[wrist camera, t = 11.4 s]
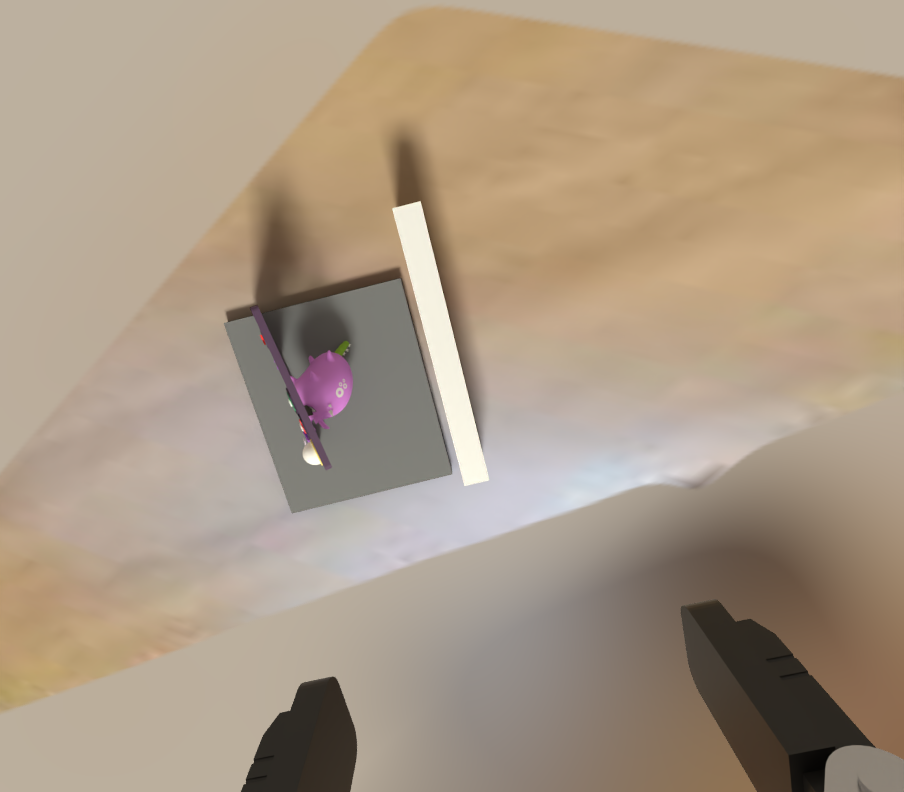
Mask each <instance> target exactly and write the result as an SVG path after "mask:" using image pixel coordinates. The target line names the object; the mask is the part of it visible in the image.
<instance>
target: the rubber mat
mask: <svg viewBox="0 0 904 792" xmlns="http://www.w3.org/2000/svg"><path fill="white" fill-rule="evenodd" d="M262 316H263V318H264V321H265V323H266V325H267V327H268V329H269V331H270V334H271V336H272V338H273V340H274V342H275V344H276V347H277V349H278V351H279V353H280V355H281V357H282V359H283V362H284V364H285V366H286V368H287V370H288V372H289V375H290V376H292V377H294V378H296V379H298V378H299V377H300V376H301V375H302V374H303V373H304V372H305V371H306V369H307V368H308V367H309V365H310V362H309V356H312V357H313V358H314V359H316V358H317V357H318V356H319V355H321V354H323V353H326V352H327V351H328V350H330V351H331V352H333V353H334V352H335V351H336V349H338V347H339V346H340V345H341V344H342V343H343V342H344V341H348V342H349V344H351V345H350V347H349V346H348V347H347V349H348V352H347V351H344V352H345V353H346V354H344V355H345V356H344V355H342V357H343V358H344V359H345V360H346V361H347V362H348V364H349V366H350V368H351V371H352V375H353V388H352V393H351V396H350V399H349V401H348V403H347V405H346V406H345V407H344V409H343V410H342V411H341V412H339V413H338V414H336V415H335V416H333V417H330V418H327V419H323V421H324V422H325V424H326V425H327V426H328V427H330V428H329V429H324V428H322V427H321V425H320V424H319V423H317V424H315V422H314V420H312V424H313V427H314V428H315V429H316V430H315V431H316V433H317V435H318V437H319V440H320V442H321V444H322V446H323V448H324V450H325V453H326V455H327V457H328V459H329V461H330V463H331V466H332V468H330V469H328V470H325V468H324V466H323V465H321V464H318V465H312V464H309V463H307V462H306V461H305V460H304V458H303V449H304V447H305V443H304V441H303V439H305V441H306V444H307V443H308V442H307V440H306V438H305V436H304V434H303V431H302V429H301V427H300V425H299V423H300V421H299V417H298V415H297V414H296V412H295V411H294V408H293V406H292V407H291V405H290V403H289V401H288V400H289V398H288V395H287V393H286V392H287V391H286V389H285V388H287V387H286V384H285V382H284V380H283V378H282V376H281V374H280V371H279V370H278V369H277V365H276V363H275V362H274V359H273V356H272V354H271V352H270V350H269V349H268V347H267V345H264V343H263V341H262V339H261V336H260V335H262V334H261V332H260V329H259V326H258V324H257V322H256V320H255V318H254V316H250V317H246V318H242V319H238V320H234V321H230V322H226V323H224V325H225V328H226V331H227V334H228V336H229V339H230V342H231V345H232V347H233V350H234V353H235V356H236V359H237V361H238V364H239V367H240V370H241V373H242V375H243V378H244V381H245V384H246V386H247V389H248V392H249V395H250V398H251V400H252V403H253V406H254V409H255V412H256V414H257V417H258V420H259V423H260V425H261V428H262V431H263V434H264V437H265V439H266V442H267V445H268V448H269V451H270V453H271V456H272V459H273V462H274V465H275V467H276V470H277V473H278V476H279V478H280V481H281V484H282V487H283V490H284V492H285V495H286V498H287V501H288V504H289V506H290V509H291V512H292V513H296V512H300V511H304V510H308V509H312V508H316V507H320V506H324V505H328V504H332V503H336V502H341V501H345V500H349V499H353V498H357V497H361V496H365V495H369V494H373V493H377V492H381V491H385V490H390V489H394V488H398V487H402V486H406V485H410V484H414V483H418V482H422V481H426V480H430V479H435V478H439V477H443V476H447V475H451V474H452V469H451V465H450V462H449V458H448V454H447V450H446V447H445V443H444V439H443V435H442V431H441V428H440V424H439V420H438V416H437V413H436V409H435V405H434V401H433V397H432V394H431V390H430V386H429V382H428V379H427V375H426V371H425V367H424V363H423V360H422V356H421V352H420V348H419V345H418V341H417V337H416V333H415V330H414V326H413V322H412V318H411V314H410V311H409V307H408V303H407V299H406V296H405V292H404V288H403V284H402V280H401V278H399V279H395V280H391V281H387V282H383V283H380V284H376V285H372V286H368V287H364V288H360V289H356V290H352V291H348V292H344V293H340V294H336V295H332V296H328V297H325V298H321V299H317V300H313V301H309V302H305V303H301V304H297V305H293V306H289V307H285V308H281V309H277V310H274V311H270V312H266V313H262ZM300 424H301V423H300ZM301 426H302V425H301Z"/></svg>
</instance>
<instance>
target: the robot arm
mask: <svg viewBox="0 0 904 792" xmlns="http://www.w3.org/2000/svg"><path fill="white" fill-rule="evenodd" d="M681 617H682V624H683V631H684V637H685V644H686V651H687V658H688V664H689V668H690V671H691V674H692V677H693V680H694V682H695V684H696V687H697V689H698V691H699V693H700V695H701V696H702V698H703V700H704V701H705V703H706V705H707V707H708V708H709V710H710V712H711V714H712V715H713V717H714V719H715V720H716V722H717V724H718V725H719V727H720V729H721V730H722V732H723V734H724V736H725V737H726V739H727V741H728V743H729V744H730V746H731V748H732V749H733V751H734V753H735V755H736V756H737V758H738V760H739V761H740V763H741V765H742V767H743V768H744V770H745V772H746V773H747V775H748V777H749V778H750V780H751V782H752V784H753V785H754V787H755V789H756V790H757V792H904V760H903V759H901V758H900V757H897V756H895V755H893V754H891V753H889V752H886V751H884V750H881V749H878V748H876V747H875V746H874V745H873V744H872V743H871V742H870V741H869V740H868V739H867V738H866V737H865V735H864V734H863V733H862V732H861V731H860V730H859V729H858V727H857V726H856V725H855V724H854V723H853V722H852V721H851V720H850V718H849V717H848V716H847V715H846V714H845V713H844V712H843V710H842V709H841V708H840V707H839V706H838V705H837V704H836V703H835V701H834V700H833V699H832V698H831V697H830V696H829V695H828V693H827V692H826V691H825V690H824V689H823V688H822V687H821V685H819V683H818V682H817V681H816V680H815V679H814V678H813V676H812V675H809V674H808V671H807V670H806V669H805V667H804V666H803V665H802V664H801V663H800V662H799V661H798V659H796V658H794V656H793V654H792V653H791V651H790V650H789V649H788V648H787V647H786V646H785V645H784V644H783V643H782V641H781V640H780V639H779V638H778V637H777V636H776V634H774V633H773V632H771V631H769V630H767V629H766V628H765V627H763V626H761V625H760V624H758V623H756V622H755V621H753V620H751V619H747V620H742V621H737V622H735V621H734V619H733V618H732V617H731V615H730V614H729V613H728V612H727V611H726V609H725V608H724V607H723V606H722V604H721V603H720V602H719V601H718V600H716V599H714V600H708V601H704V602H699V603H694V604H689V605H684V606H682V607H681ZM356 756H357V739H356V732H355V728H354V724H353V722H352V719H351V716H350V713H349V710H348V708H347V705H346V702H345V699H344V696H343V694H342V691H341V688H340V685H339V683H338V681H337V679H336V678H335V677H328V678H324V679H318V680H314V681H309V682H304V683H302V684H301V685H300V686H299V688H298V690H297V693H296V696H295V699H294V702H293V704H292V707H291V710H290V711H287V712H282V713H280V714H279V715H278V716H277V718H276V719H275V720H274V722H273V723H272V724H271V726H270V727H269V728H268V729H267V731H266V732H265V734H264V735H263V737H262V740H261V742H260V745H259V747H258V750H257V752H256V755H255V758H254V764H252V765H251V767H250V770H249V773H248V775H247V778H246V784H244V785H243V788H242V790H241V792H350V790H351V785H352V779H353V774H354V768H355V763H356Z"/></svg>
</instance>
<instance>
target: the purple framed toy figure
mask: <svg viewBox="0 0 904 792" xmlns="http://www.w3.org/2000/svg"><path fill="white" fill-rule="evenodd" d="M250 309H251V311H252V314H253V316H254V318H255V320H256V322H257V324H258V326H259V329H260V332H261V334H262V335H260V336H261V339H262V341H263V343H264V345H267V347H268V349H269V350H270V352H271V354H272V356H273V359H274V362H275V363H276V365H277V369H278V370H279V371H280V374H281V376H282V378H283V380H284V382H285V384H286V387H287V388H285V389H286V391H287V392H286V393H287V395H288V398H289V400H288V401H289V403H290V405H291V407H292V406H293V408H294V411H295V412H296V414H297V415H298V417H299V421H300V423H301V424H300V423H299V425H300V427H301V429H302V431H303V434H304V436H305V438H306V440H307V442H308V443H307V444H306V441H305V439H303V441H304V443H305V447H304V449H303V458H304V460H305V461H306V462H307V463H309V464H312V465H318V464H321V465H323V466H324V468H325V470H328V469H330V468H332V466H331V463H330V461H329V459H328V457H327V455H326V453H325V450H324V448H323V446H322V444H321V442H320V440H319V437H318V435H317V433H316V431H315V430H316V429H315V428H314V427H313V424H312V420H314V422H315V424H317V423H319V424H320V425H321V427H322V428H324V429H329V428H330V427H328V426H327V425H326V424H325V422H324V421H323V419H327V418H330V417H333V416H335V415H336V414H338V413H339V412H341V411H342V410H343V409H344V407H345V406H346V405H347V403H348V401H349V399H350V396H351V393H352V388H353V375H352V371H351V368H350V366H349V364H348V362H347V361H346V360H345V359H344V358H343V357H342V355H344V354H346V353H345V352H344V351H347V352H348V349H347V347H348V346H349V347H350V345H351V344H349V342H348V341H344V342H343V343H342V344H341V345H340V346H339V347H338V349H336V351H335V352H334V353H333V352H331V351H330V350H328V351H327V352H326V353H323V354H321V355H319V356H318V357H317V358H316V359H314V358H313V357H312V356H309V362H310V365H309V367H308V368H307V369H306V371H305V372H304V373H303V374H302V375H301V376H300V377H299V378H298V379H296V378H294V377H292V376H290V375H289V372H288V370H287V368H286V366H285V364H284V362H283V359H282V357H281V355H280V353H279V351H278V349H277V347H276V344H275V342H274V340H273V338H272V336H271V334H270V331H269V329H268V327H267V325H266V323H265V321H264V318H263V316H262V314H261V312H260V310H259V308H258V305H256V306H253V307H250ZM344 356H345V355H344ZM301 425H302V426H301Z"/></svg>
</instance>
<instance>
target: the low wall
mask: <svg viewBox="0 0 904 792" xmlns="http://www.w3.org/2000/svg"><path fill="white" fill-rule="evenodd" d="M392 209H393V213H394V217H395V220H396V224H397V228H398V232H399V236H400V240H401V244H402V247H403V251H404V255H405V259H406V263H407V267H408V270H409V274H410V278H411V282H412V286H413V290H414V293H415V297H416V301H417V305H418V309H419V313H420V317H421V320H422V324H423V328H424V332H425V336H426V340H427V343H428V347H429V351H430V355H431V359H432V363H433V366H434V370H435V374H436V378H437V382H438V386H439V390H440V393H441V397H442V401H443V405H444V409H445V413H446V416H447V420H448V424H449V428H450V432H451V436H452V439H453V443H454V447H455V451H456V455H457V459H458V463H459V466H460V470H461V474H462V478H463V482H464V486H467V485H471V484H475V483H479V482H484V481H488V480H489V477H488V473H487V469H486V465H485V461H484V457H483V453H482V449H481V445H480V441H479V437H478V433H477V429H476V424H475V420H474V416H473V412H472V408H471V404H470V400H469V396H468V392H467V388H466V384H465V380H464V376H463V372H462V368H461V364H460V359H459V355H458V351H457V347H456V343H455V339H454V335H453V331H452V327H451V323H450V319H449V315H448V311H447V307H446V303H445V299H444V294H443V290H442V286H441V282H440V278H439V274H438V270H437V266H436V262H435V258H434V254H433V250H432V246H431V242H430V238H429V234H428V230H427V225H426V221H425V217H424V213H423V209H422V205H421V201H419V202H415V203H411V204H407V205H404V206H400V207H396V208H392Z"/></svg>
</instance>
